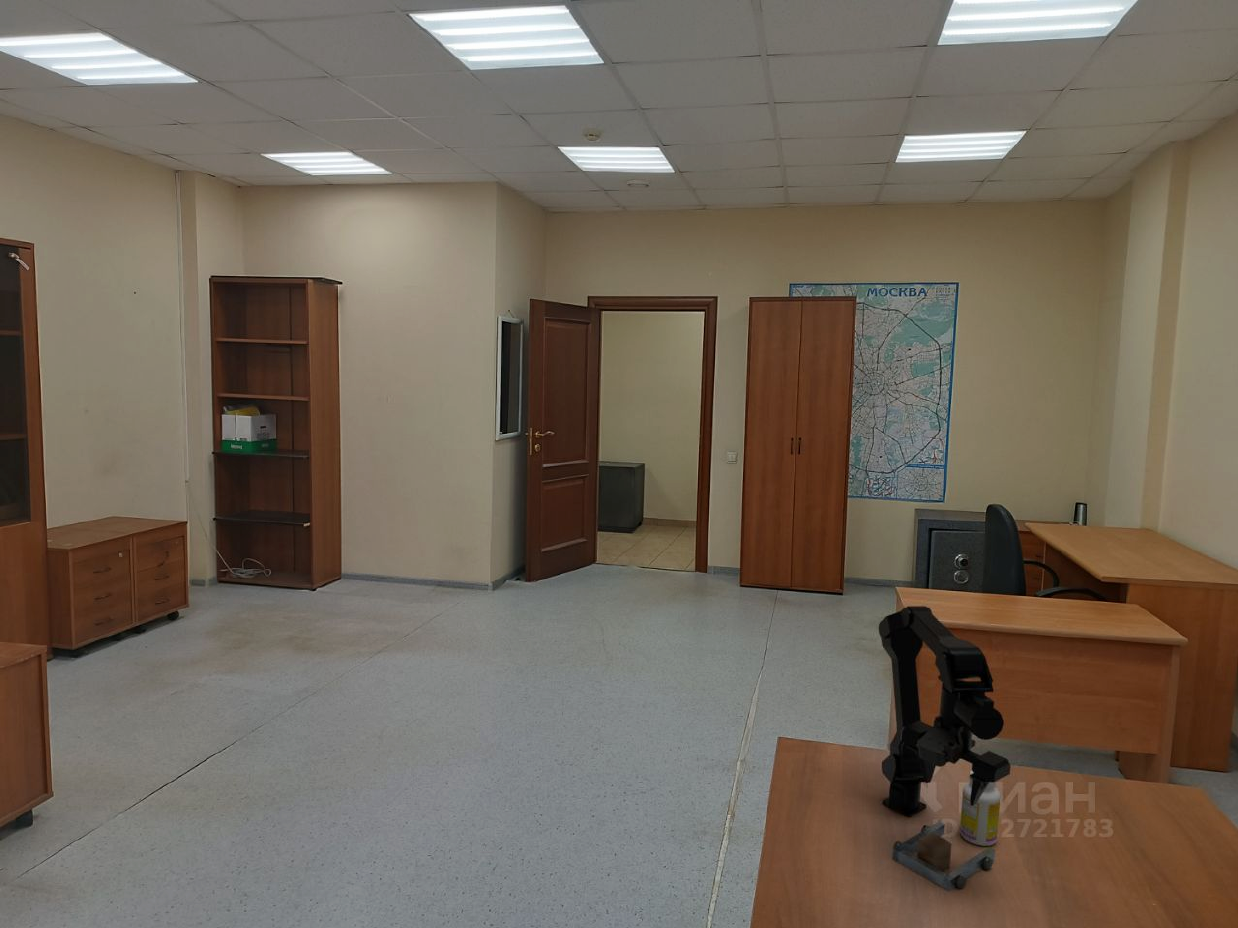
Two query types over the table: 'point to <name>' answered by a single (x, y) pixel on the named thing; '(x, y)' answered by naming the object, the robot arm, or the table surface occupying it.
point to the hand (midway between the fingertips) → (949, 793)
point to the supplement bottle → (980, 815)
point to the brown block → (934, 851)
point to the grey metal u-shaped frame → (947, 881)
